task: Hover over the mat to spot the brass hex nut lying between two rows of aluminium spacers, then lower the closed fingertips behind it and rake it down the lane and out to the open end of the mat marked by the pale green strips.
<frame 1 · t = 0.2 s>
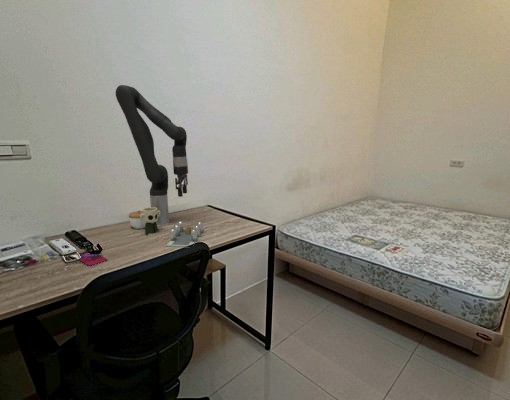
hand: (182, 194, 160), 18 cm above the table, tool pointing down, fingers open, 8 cm apart
lidded jar: (140, 227, 160), on the table
mat: (186, 239, 143), on the table
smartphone: (90, 259, 121), on the table
nut: (189, 233, 148), point 1 cm above the table, touching mat
character mug: (151, 233, 151), on the table
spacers: (187, 238, 145), resting on mat
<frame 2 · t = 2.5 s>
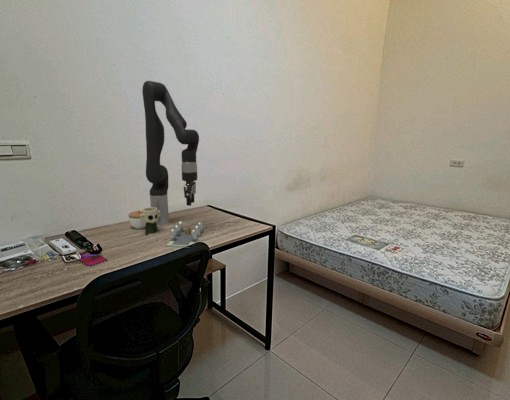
hand: (190, 203, 149), 15 cm above the table, tool pointing down, fingers open, 5 cm apart
nothing on the table moved.
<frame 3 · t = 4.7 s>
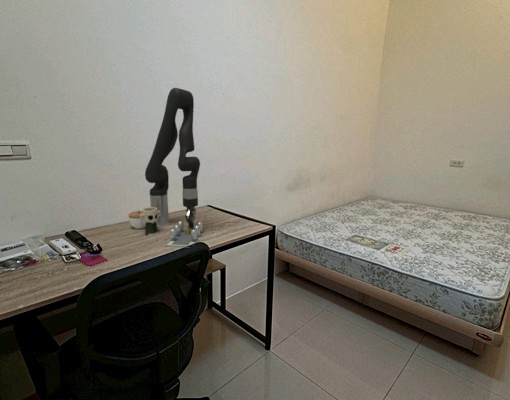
hand: (191, 229, 152), 2 cm above the table, tool pointing down, fingers closed
nut: (189, 233, 148), point 1 cm above the table, touching gripper, mat
everything else where it was.
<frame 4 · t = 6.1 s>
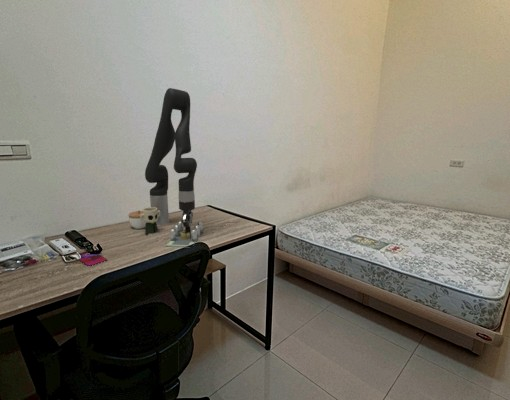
hand: (188, 233, 146), 2 cm above the table, tool pointing down, fingers closed
nut: (185, 238, 142), point 1 cm above the table, touching gripper
everything else where it was.
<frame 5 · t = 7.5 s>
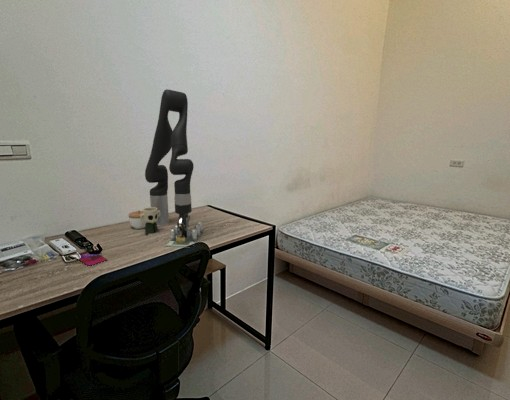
hand: (184, 237, 140), 2 cm above the table, tool pointing down, fingers closed
nut: (180, 242, 137), point 1 cm above the table, touching gripper, mat
everything else where it was.
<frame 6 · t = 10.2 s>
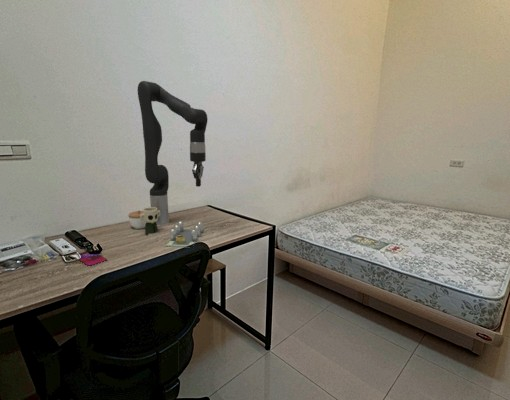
hand: (198, 186, 148), 25 cm above the table, tool pointing down, fingers closed
nut: (180, 242, 137), point 1 cm above the table, touching mat
everything else where it was.
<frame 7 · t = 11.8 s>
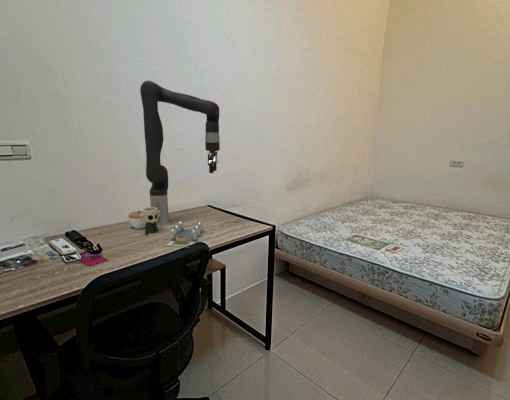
hand: (213, 171, 159), 30 cm above the table, tool pointing down, fingers open, 8 cm apart
nothing on the table moved.
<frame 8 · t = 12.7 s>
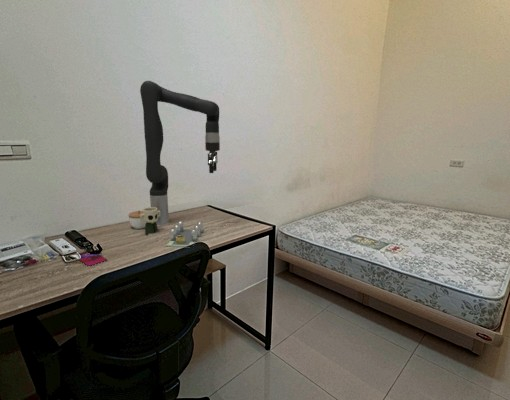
hand: (213, 171, 159), 30 cm above the table, tool pointing down, fingers open, 8 cm apart
nothing on the table moved.
at the end: nut inside the target area (1.9 cm from its centre), point 1.0 cm above the table; nut touching mat; the gripper is holding nothing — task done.
